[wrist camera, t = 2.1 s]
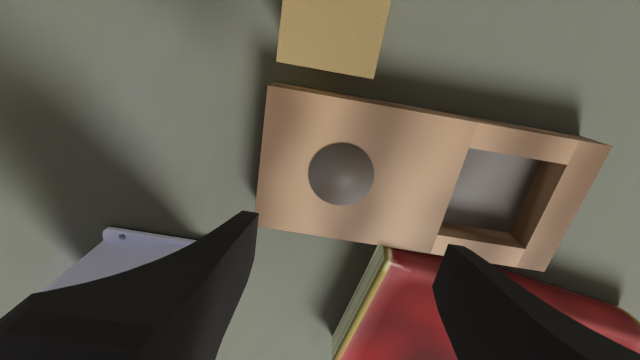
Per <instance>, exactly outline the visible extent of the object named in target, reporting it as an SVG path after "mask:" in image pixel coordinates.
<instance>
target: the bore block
mask: <svg viewBox="0 0 640 360" xmlns="http://www.w3.org/2000/svg"><path fill="white" fill-rule="evenodd" d="M612 147H613V146H610V145H607V144H604V143H601V142H598V141H595V140H591V139H588V138H585V137H582V136H578V135H573V134H567V133H562V132H556V131H550V130H545V129H539V128H533V127H528V126H522V125H517V124H511V123H505V122H500V121H494V120H488V119H483V118H477V117H472V116H466V115H460V114H455V113H449V112H443V111H438V110H432V109H426V108H421V107H415V106H410V105H404V104H398V103H393V102H387V101H381V100H376V99H370V98H365V97H359V96H353V95H348V94H342V93H336V92H331V91H325V90H320V89H314V88H308V87H303V86H297V85H291V84H286V83H280V82H273V83H271V84H269V85H268V86H267V96H266V106H265V116H264V126H263V136H262V146H261V155H260V165H259V175H258V185H257V195H256V205H255V213H259V218H258V226H260V227H266V228H272V229H279V230H285V231H291V232H297V233H304V234H310V235H316V236H323V237H329V238H335V239H341V240H348V241H354V242H360V243H366V244H373V245H379V246H385V247H391V248H398V249H404V250H410V251H416V252H423V253H429V254H435V255H442V256H444V254H445V251H446V248H447V246H448V244H453V245H460V246H465V247H466V248H468V249H470V250H471V251H473V252H474V253H476V254H477V255H479V256H480V257H482V258H483V259H485V260H486V261H487V262H489V263H492V264H498V265H504V266H510V267H517V268H523V269H529V270H536V271H542V272H545V270H546V268H547V266H548V264H549V263H550V261H551V259H552V257H553V255H554V253H555V252H556V250H557V248H558V246H559V244H560V242H561V240H562V239H563V237H564V235H565V233H566V231H567V229H568V228H569V226H570V224H571V222H572V220H573V218H574V217H575V215H576V213H577V211H578V209H579V207H580V206H581V204H582V202H583V200H584V198H585V196H586V194H587V193H588V191H589V189H590V187H591V185H592V183H593V182H594V180H595V178H596V176H597V174H598V172H599V171H600V169H601V167H602V165H603V163H604V161H605V159H606V158H607V156H608V154H609V152H610V150H611V148H612Z"/></svg>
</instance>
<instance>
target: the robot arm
mask: <svg viewBox="0 0 640 360" xmlns="http://www.w3.org/2000/svg"><path fill="white" fill-rule="evenodd" d="M258 218H259V213H255V212H249V211H241V212H240V213H238V214H237V215H235V216H234V217H232V218H231V219H229V220H228V221H227V222H225V223H224V224H222V225H221V226H219V227H218V228H216V229H215V230H213V231H212V232H210V233H209V234H207V235H205V236H203V237H202V238H200V239H198V240H191V239H185V238H179V237H172V236H166V235H159V234H153V233H147V232H140V231H134V230H128V229H121V228H115V227H107V228H106V229H105V230H104V231H103V233H102V234H103V241H102V242H101V243H100V244H98V245H97V246H96V247H95V248H94V249H92V250H91V251H90V252H89V253H88V254H86V255H85V256H84V257H83V258H82V259H80V260H79V261H78V262H77V263H75V264H74V265H73V266H72V267H71V268H69V269H68V270H67V271H66V272H65V273H63V274H62V275H61V276H60V277H58V278H57V279H56V280H55V281H54V282H52V283H51V284H50V285H49V286H48V287H46V288H45V289H44V290H43V291H42V292H39V293H34V294H31V295H30V296H28V297H27V298H26V299H24V300H23V301H22V302H21V303H19V304H18V305H17V306H16V307H14V308H13V309H12V310H11V311H9V312H8V313H7V314H6V315H5V316H3V317H2V318H1V319H0V360H215V358H216V355H217V352H218V349H219V347H220V344H221V342H222V339H223V336H224V334H225V332H226V329H227V327H228V325H229V323H230V320H231V318H232V316H233V314H234V311H235V309H236V307H237V305H238V302H239V300H240V298H241V295H242V293H243V291H244V288H245V286H246V284H247V281H248V278H249V275H250V271H251V268H252V264H253V261H254V255H255V246H256V236H257V227H258ZM122 234H123V235H125V237H124V236H123V235H122ZM432 289H433V293H434V297H435V302H436V305H437V309H438V312H439V315H440V317H441V320H442V322H443V325H444V327H445V330H446V332H447V335H448V337H449V340H450V342H451V344H452V347H453V349H454V352H455V354H456V357H457V359H458V360H640V354H639V353H637V352H635V351H633V350H631V349H629V348H627V347H625V346H623V345H621V344H619V343H617V342H615V341H613V340H611V339H609V338H607V337H605V336H603V335H601V334H599V333H597V332H595V331H594V330H592V329H590V328H588V327H586V326H585V325H583V324H581V323H579V322H578V321H576V320H574V319H572V318H571V317H569V316H567V315H566V314H564V313H562V312H561V311H559V310H557V309H556V308H554V307H552V306H551V305H549V304H548V303H546V302H545V301H543V300H542V299H540V298H539V297H537V296H536V295H534V294H532V293H531V292H529V291H528V290H527V289H525V288H524V287H522V286H521V285H519V284H518V283H516V282H515V281H514V280H512V279H511V278H509V277H508V276H507V275H505V274H504V273H503V272H501V271H500V270H498V269H497V268H496V267H494V266H493V265H492V264H490V263H489V262H487V261H486V260H485V259H483V258H482V257H480V256H479V255H477V254H476V253H474V252H473V251H471V250H470V249H468V248H466V247H465V246H460V245H453V244H448V246H447V248H446V251H445V254H444V256H443V259H442V262H441V264H440V267H439V269H438V272H437V275H436V277H435V280H434V282H433V285H432Z"/></svg>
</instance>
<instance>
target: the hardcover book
mask: <svg viewBox="0 0 640 360" xmlns="http://www.w3.org/2000/svg"><path fill="white" fill-rule="evenodd" d="M442 259H443V256H442V255H435V254H429V253H423V252H416V251H410V250H404V249H398V248H391V247H385V246H379V245H378V246H377V248H376V250H375V252H374V254H373V256H372V258H371V260H370V262H369V264H368V266H367V268H366V270H365V272H364V274H363V276H362V278H361V280H360V282H359V284H358V286H357V288H356V290H355V292H354V294H353V296H352V298H351V300H350V302H349V304H348V306H347V308H346V310H345V312H344V314H343V316H342V318H341V320H340V322H339V324H338V326H337V328H336V330H335V332H334V334H333V336H332V344H333V359H332V360H458V359H457V357H456V354H455V352H454V349H453V347H452V344H451V342H450V340H449V337H448V335H447V332H446V330H445V327H444V325H443V322H442V320H441V317H440V315H439V312H438V309H437V305H436V302H435V297H434V293H433V289H432V285H433V282H434V280H435V277H436V275H437V272H438V269H439V267H440V264H441V262H442ZM494 267H495V266H494ZM496 268H497V269H498V270H500V271H501V272H503V273H504V274H505V275H507V276H508V277H509V278H511V279H512V280H514V281H515V282H516V283H518V284H519V285H521V286H522V287H524V288H525V289H527V290H528V291H529V292H531V293H532V294H534V295H536V296H537V297H539V298H540V299H542V300H543V301H545V302H546V303H548V304H549V305H551V306H552V307H554V308H556V309H557V310H559V311H561V312H562V313H564V314H566V315H567V316H569V317H571V318H572V319H574V320H576V321H578V322H579V323H581V324H583V325H585V326H586V327H588V328H590V329H592V330H594V331H595V332H597V333H599V334H601V335H603V336H605V337H607V338H609V339H611V340H613V341H615V342H617V343H619V344H621V345H623V346H625V347H627V348H629V349H631V350H633V351H635V352H637V353H639V354H640V322H639V321H638V320H637V319H635V318H634V317H633V316H631V315H630V314H629V313H628V312H626V311H625V310H623V309H621V308H620V307H618V306H615V305H612V304H609V303H606V302H603V301H600V300H597V299H594V298H591V297H587V296H584V295H581V294H578V293H575V292H572V291H569V290H566V289H563V288H560V287H557V286H553V285H550V284H547V283H544V282H541V281H538V280H535V279H532V278H529V277H526V276H522V275H519V274H516V273H513V272H510V271H507V270H504V269H501V268H498V267H496Z"/></svg>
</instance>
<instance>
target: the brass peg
mask: <svg viewBox="0 0 640 360" xmlns="http://www.w3.org/2000/svg"><path fill="white" fill-rule="evenodd" d="M390 3H391V0H283V1H282V11H281V20H280V29H279V39H278V48H277V57H276V62H281V63H286V64H292V65H297V66H303V67H309V68H314V69H320V70H325V71H331V72H336V73H342V74H347V75H353V76H359V77H364V78H370V79H374V75H375V71H376V66H377V62H378V57H379V53H380V48H381V44H382V39H383V35H384V30H385V26H386V21H387V17H388V12H389V8H390Z"/></svg>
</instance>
